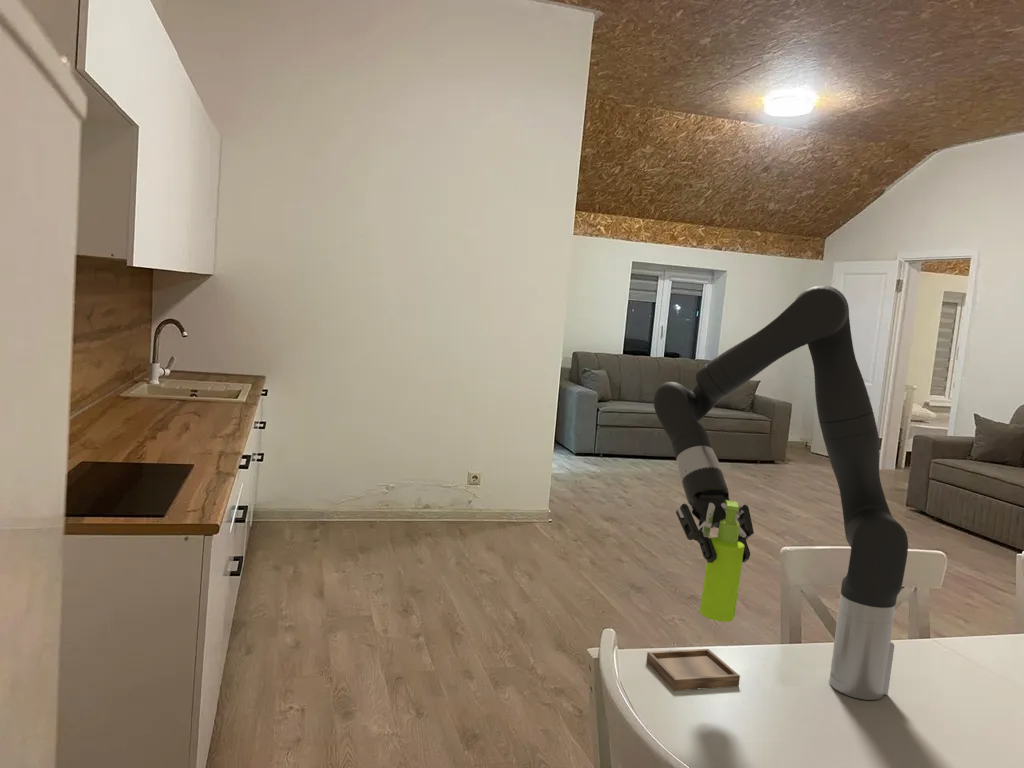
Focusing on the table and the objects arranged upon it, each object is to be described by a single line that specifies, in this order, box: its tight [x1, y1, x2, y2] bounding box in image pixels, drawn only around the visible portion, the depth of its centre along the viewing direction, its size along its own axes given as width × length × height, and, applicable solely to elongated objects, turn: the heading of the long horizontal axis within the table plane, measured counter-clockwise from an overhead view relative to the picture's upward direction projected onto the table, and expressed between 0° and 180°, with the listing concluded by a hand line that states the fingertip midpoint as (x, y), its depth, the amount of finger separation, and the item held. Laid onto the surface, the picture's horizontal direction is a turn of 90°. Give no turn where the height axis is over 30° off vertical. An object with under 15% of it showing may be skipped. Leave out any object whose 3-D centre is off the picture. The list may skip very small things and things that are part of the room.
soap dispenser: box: [699, 499, 745, 623], centre depth 137 cm, size 6×7×20 cm
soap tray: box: [646, 648, 741, 692], centre depth 145 cm, size 13×11×2 cm
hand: (728, 560), depth 135 cm, fingers closed on soap dispenser, 6 cm apart
